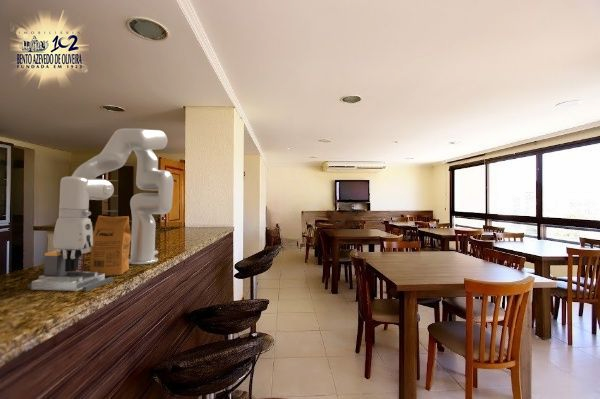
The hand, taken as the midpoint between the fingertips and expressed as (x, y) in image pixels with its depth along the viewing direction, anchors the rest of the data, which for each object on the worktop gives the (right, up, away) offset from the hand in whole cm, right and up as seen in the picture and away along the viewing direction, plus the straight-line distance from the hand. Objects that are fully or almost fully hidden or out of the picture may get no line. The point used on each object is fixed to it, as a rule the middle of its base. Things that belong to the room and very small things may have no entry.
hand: (71, 270), depth 91 cm
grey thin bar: (+9, -5, 0) cm, 10 cm away
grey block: (-5, -2, 0) cm, 6 cm away
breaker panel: (0, -5, 0) cm, 5 cm away
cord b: (-9, -4, 0) cm, 10 cm away
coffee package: (+2, -5, +15) cm, 16 cm away
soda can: (-9, -5, +11) cm, 15 cm away
